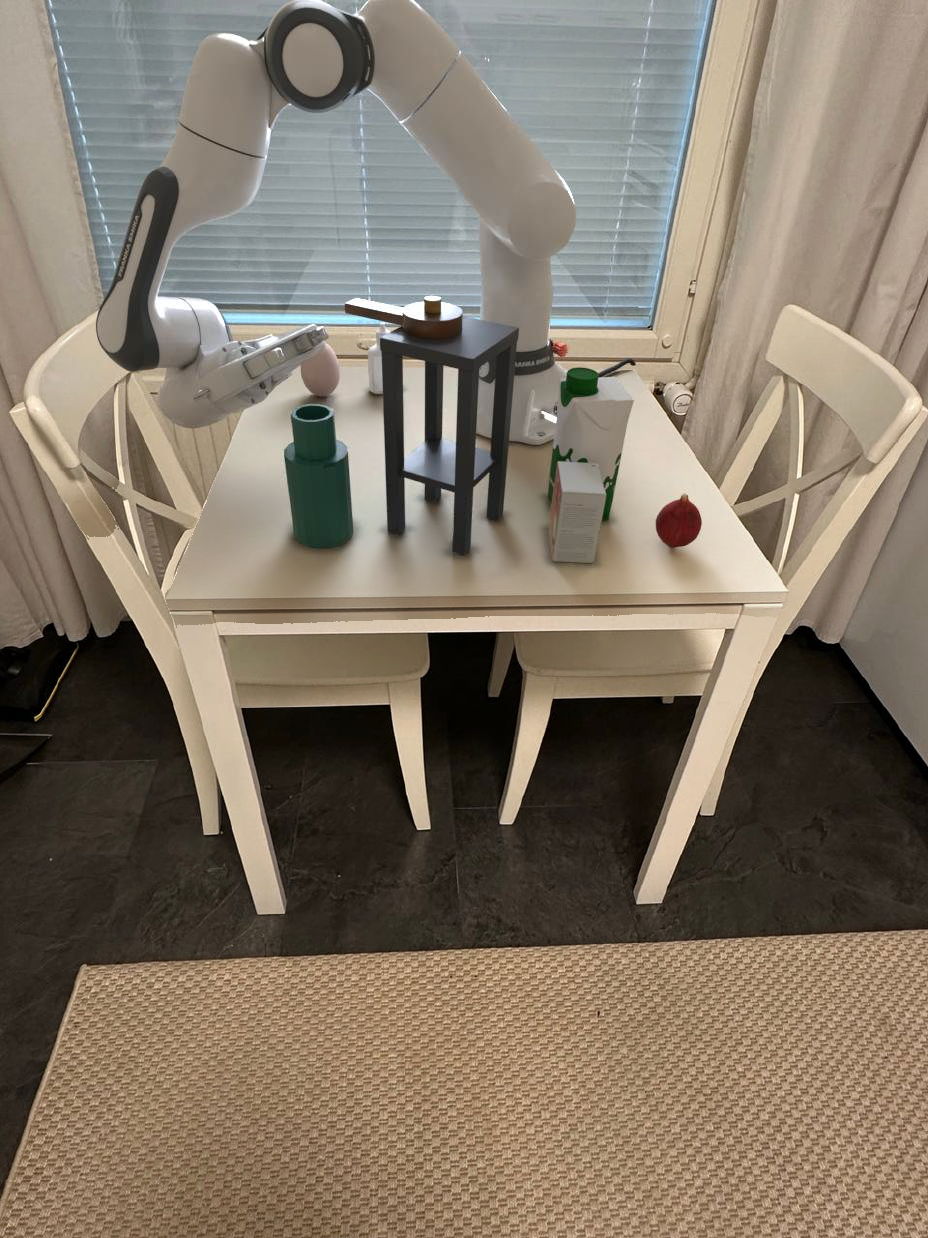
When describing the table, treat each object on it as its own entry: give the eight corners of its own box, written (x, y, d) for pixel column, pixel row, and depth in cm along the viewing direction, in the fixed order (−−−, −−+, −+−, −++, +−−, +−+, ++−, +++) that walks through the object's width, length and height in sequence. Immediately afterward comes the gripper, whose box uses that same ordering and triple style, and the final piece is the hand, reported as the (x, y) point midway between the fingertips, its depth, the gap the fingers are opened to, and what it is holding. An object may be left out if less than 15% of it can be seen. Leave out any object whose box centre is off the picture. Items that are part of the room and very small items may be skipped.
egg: (349, 395, 136) (346, 341, 130) (320, 406, 132) (315, 351, 126) (324, 384, 139) (320, 331, 133) (295, 395, 135) (289, 340, 129)
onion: (702, 556, 100) (717, 504, 95) (663, 562, 99) (677, 509, 94) (680, 532, 105) (694, 481, 99) (643, 538, 103) (654, 486, 98)
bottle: (338, 511, 106) (328, 394, 95) (363, 538, 101) (356, 418, 90) (285, 525, 102) (269, 406, 92) (308, 554, 97) (294, 432, 87)
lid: (334, 318, 90) (332, 288, 88) (366, 302, 95) (365, 274, 93) (444, 343, 85) (444, 312, 83) (472, 325, 90) (473, 295, 88)
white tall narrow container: (399, 395, 137) (398, 328, 129) (368, 394, 137) (365, 327, 129) (400, 385, 140) (399, 319, 132) (370, 384, 140) (367, 318, 132)
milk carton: (540, 494, 111) (555, 360, 98) (599, 491, 113) (622, 358, 100) (555, 527, 105) (574, 387, 92) (617, 523, 106) (645, 385, 93)
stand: (386, 531, 102) (379, 337, 86) (430, 492, 111) (431, 309, 94) (464, 556, 98) (473, 359, 82) (504, 514, 107) (519, 327, 90)
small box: (547, 528, 104) (556, 459, 97) (588, 530, 104) (599, 461, 97) (551, 562, 98) (560, 491, 91) (594, 564, 98) (607, 493, 91)
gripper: (173, 379, 99) (235, 344, 91) (272, 333, 113) (335, 299, 105) (199, 423, 102) (263, 393, 93) (293, 373, 116) (356, 343, 107)
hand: (302, 343), depth 99 cm, fingers open, 8 cm apart
